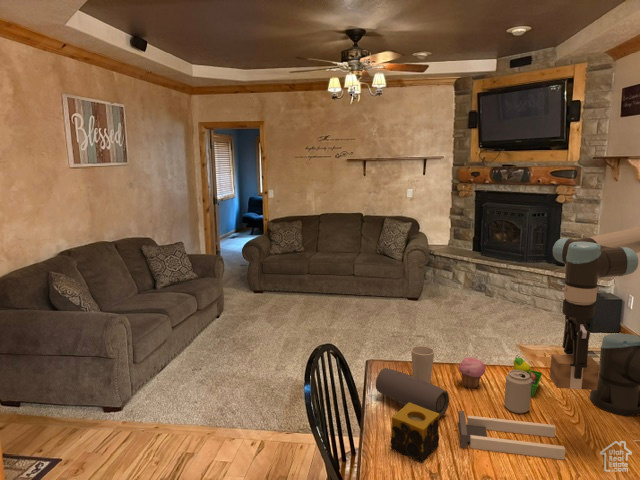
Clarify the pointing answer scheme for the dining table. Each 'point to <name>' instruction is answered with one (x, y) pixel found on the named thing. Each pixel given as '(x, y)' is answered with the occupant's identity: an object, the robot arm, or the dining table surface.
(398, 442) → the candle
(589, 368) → the block
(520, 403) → the can
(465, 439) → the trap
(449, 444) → the dining table surface
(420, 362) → the cup
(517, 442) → the channel
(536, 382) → the fruit basket
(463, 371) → the cupcake
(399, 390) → the bluetooth speaker
